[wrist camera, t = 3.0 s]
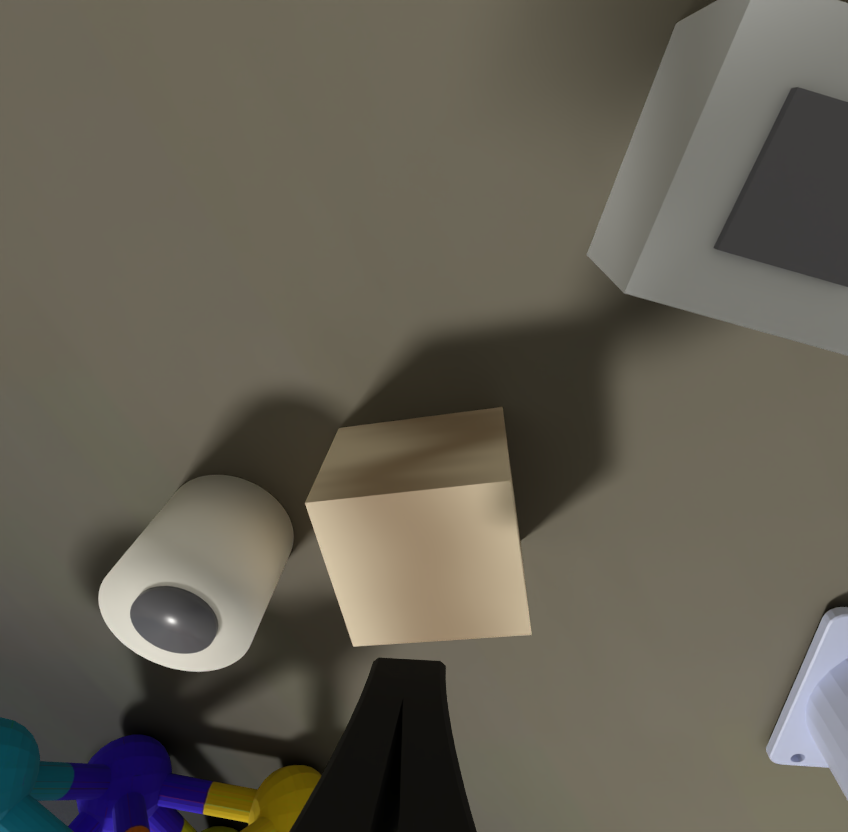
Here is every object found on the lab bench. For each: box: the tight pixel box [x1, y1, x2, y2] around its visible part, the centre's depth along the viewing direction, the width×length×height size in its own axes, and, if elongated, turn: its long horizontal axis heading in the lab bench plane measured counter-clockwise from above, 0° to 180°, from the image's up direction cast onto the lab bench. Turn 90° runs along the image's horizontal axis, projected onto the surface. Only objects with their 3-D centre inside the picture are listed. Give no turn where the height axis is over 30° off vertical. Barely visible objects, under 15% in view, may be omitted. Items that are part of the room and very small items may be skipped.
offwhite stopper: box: [98, 475, 294, 672], centre depth 17 cm, size 4×4×4 cm
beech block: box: [305, 407, 532, 647], centre depth 16 cm, size 5×5×4 cm
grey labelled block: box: [587, 0, 848, 356], centre depth 11 cm, size 5×5×4 cm
